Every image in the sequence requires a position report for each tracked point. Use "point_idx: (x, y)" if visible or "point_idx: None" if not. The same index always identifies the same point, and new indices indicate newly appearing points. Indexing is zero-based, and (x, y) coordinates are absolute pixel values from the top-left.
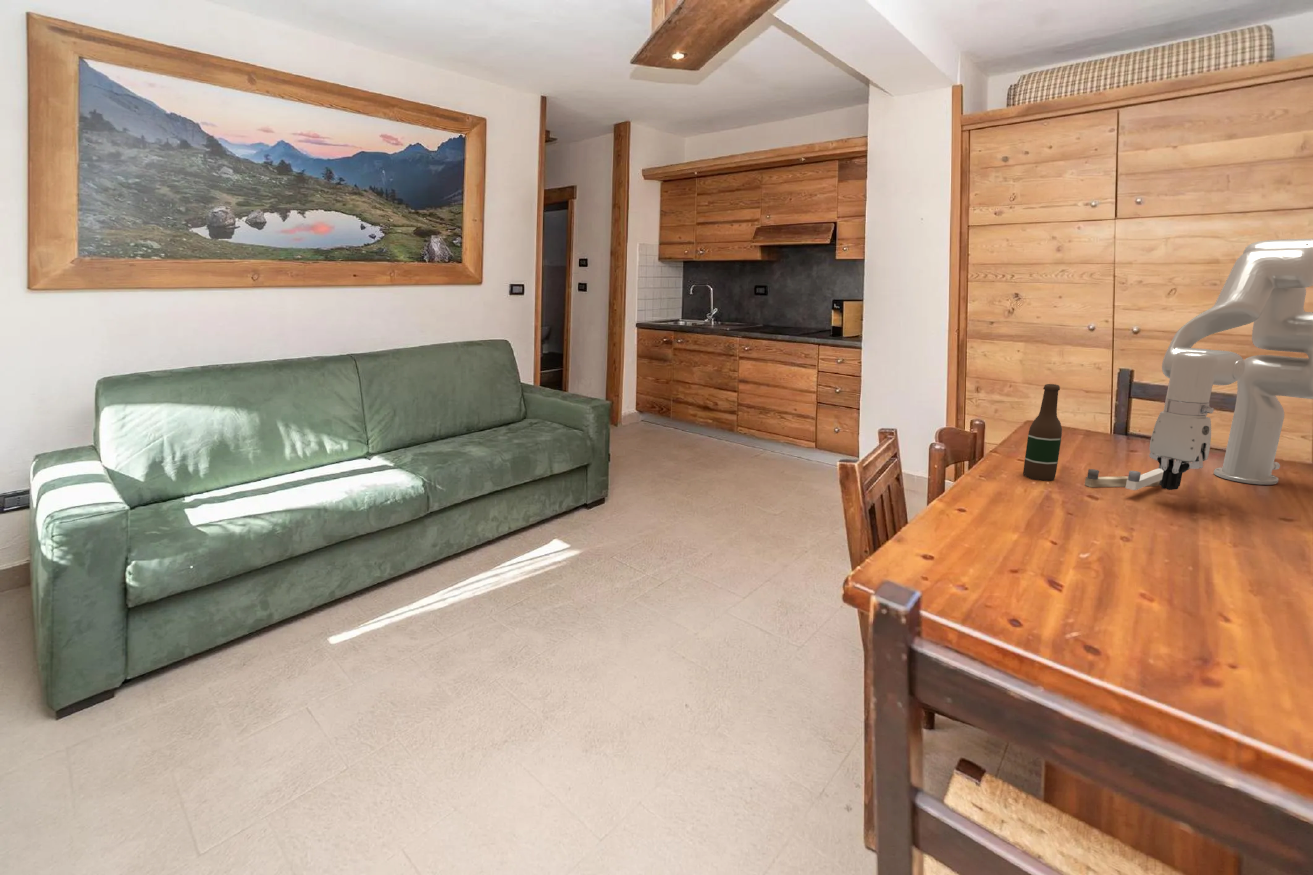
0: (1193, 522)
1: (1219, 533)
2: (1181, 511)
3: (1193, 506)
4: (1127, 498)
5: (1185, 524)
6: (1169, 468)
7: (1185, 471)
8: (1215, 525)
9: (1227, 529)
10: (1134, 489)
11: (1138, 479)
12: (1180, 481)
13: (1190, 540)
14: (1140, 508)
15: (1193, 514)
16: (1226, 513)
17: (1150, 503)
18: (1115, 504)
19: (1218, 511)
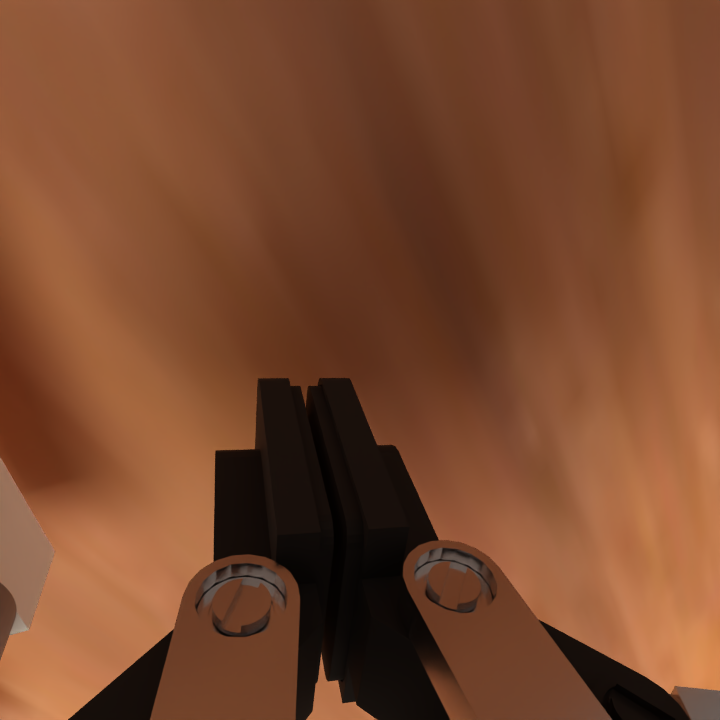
0: (560, 521)
1: (691, 547)
2: (427, 398)
3: (412, 157)
4: (22, 489)
5: (545, 582)
6: (303, 717)
7: (489, 561)
8: (654, 458)
9: (711, 460)
10: (46, 560)
11: (6, 630)
12: (409, 482)
13: None
14: None
15: (504, 383)
16: (655, 90)
17: (198, 435)
18: (133, 659)
19: (597, 94)
